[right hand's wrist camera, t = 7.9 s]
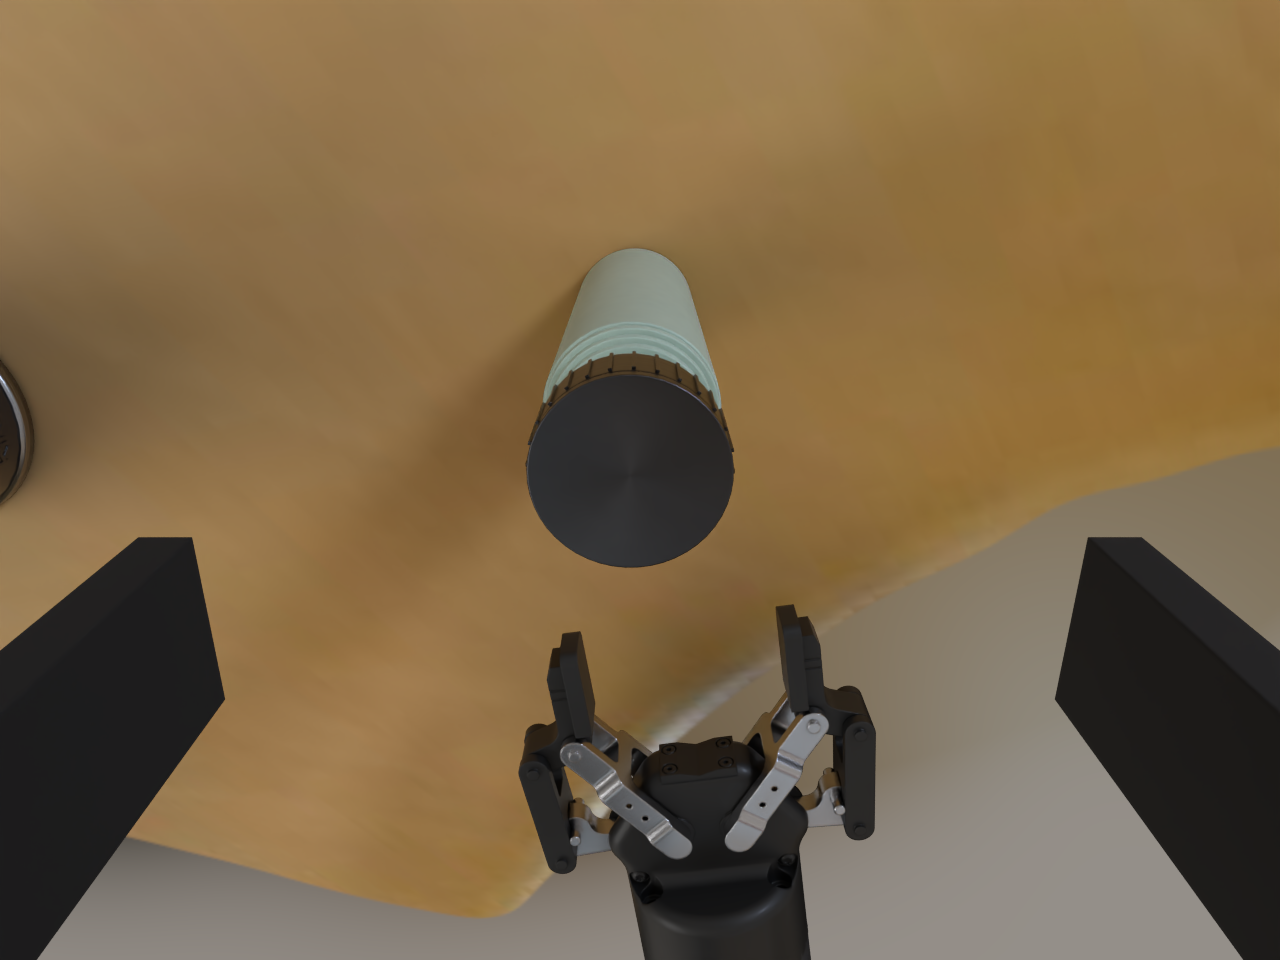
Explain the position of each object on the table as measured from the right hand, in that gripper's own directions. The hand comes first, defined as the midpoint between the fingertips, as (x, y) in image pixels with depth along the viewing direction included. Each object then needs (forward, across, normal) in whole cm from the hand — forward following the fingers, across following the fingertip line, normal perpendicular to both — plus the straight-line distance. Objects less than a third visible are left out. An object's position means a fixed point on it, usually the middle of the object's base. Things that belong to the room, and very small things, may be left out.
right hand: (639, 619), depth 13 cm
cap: (+6, 0, 0) cm, 6 cm away
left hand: (+19, -2, +11) cm, 22 cm away
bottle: (+25, 0, 0) cm, 25 cm away
